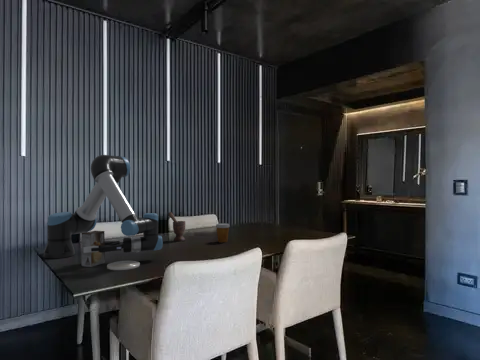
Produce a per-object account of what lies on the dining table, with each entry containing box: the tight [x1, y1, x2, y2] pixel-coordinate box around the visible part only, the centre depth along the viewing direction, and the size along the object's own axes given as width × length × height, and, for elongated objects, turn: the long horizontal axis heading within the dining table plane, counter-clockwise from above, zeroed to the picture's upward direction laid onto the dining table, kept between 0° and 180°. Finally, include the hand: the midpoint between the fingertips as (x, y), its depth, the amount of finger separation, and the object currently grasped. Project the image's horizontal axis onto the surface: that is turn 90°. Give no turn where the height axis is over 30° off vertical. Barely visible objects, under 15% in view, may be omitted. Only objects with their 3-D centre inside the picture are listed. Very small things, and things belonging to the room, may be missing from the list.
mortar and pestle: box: [167, 211, 186, 242], centre depth 238 cm, size 12×9×20 cm
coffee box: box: [80, 230, 106, 268], centre depth 170 cm, size 9×6×16 cm
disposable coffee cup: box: [215, 222, 230, 243], centre depth 235 cm, size 10×10×12 cm
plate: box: [106, 260, 141, 271], centre depth 167 cm, size 15×15×1 cm
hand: (83, 247), depth 169 cm, fingers closed on coffee box, 10 cm apart
